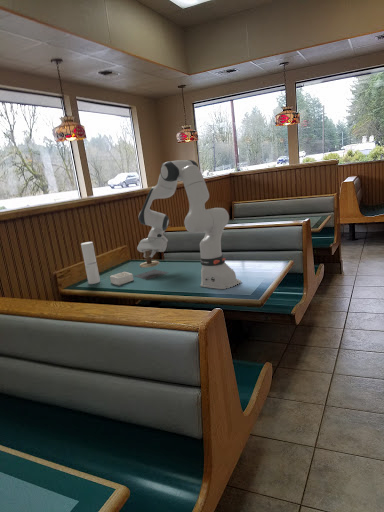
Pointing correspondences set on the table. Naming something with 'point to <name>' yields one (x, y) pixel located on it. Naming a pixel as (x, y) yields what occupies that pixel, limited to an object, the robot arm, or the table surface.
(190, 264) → the table surface
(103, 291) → the table surface
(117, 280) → the white hollow square box
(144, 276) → the mat
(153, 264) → the lid
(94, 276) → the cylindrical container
